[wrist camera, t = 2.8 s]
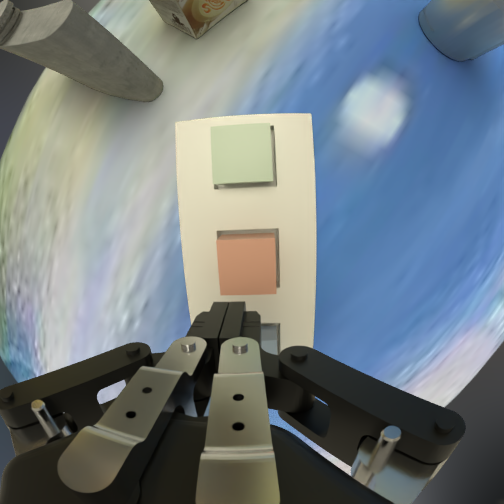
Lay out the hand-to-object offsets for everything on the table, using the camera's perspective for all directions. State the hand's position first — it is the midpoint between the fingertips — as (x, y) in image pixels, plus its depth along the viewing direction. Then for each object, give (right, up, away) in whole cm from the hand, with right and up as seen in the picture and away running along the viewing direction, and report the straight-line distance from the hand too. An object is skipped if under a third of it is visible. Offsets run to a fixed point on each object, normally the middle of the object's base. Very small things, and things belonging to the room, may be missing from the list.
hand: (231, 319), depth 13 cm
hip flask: (-16, +24, +12) cm, 31 cm away
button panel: (+1, +3, +16) cm, 16 cm away
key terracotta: (+1, +3, +12) cm, 12 cm away
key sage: (0, +11, +10) cm, 15 cm away
